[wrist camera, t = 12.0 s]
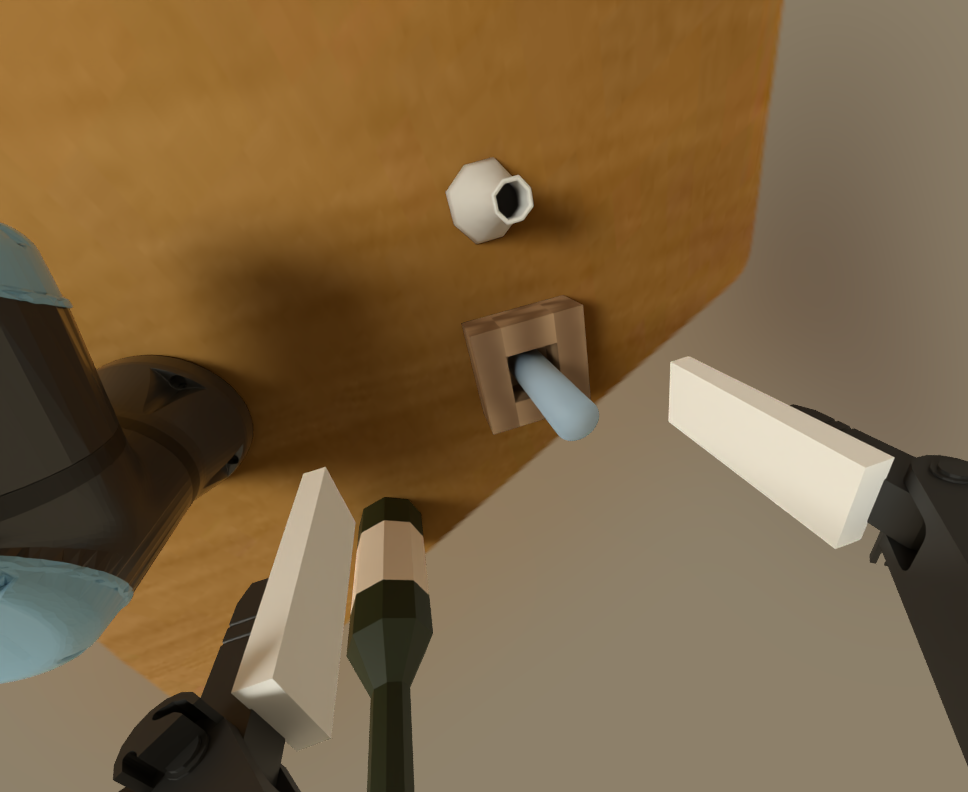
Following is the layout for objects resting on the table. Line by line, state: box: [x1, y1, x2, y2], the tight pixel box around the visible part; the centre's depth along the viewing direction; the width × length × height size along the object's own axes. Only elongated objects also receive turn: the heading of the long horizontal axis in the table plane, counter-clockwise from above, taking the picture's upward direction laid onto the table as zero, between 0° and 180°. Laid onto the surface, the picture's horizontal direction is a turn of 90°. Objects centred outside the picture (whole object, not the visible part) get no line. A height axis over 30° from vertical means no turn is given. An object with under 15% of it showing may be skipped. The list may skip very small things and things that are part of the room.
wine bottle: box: [347, 497, 433, 792], centre depth 38 cm, size 8×8×30 cm
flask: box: [446, 157, 534, 244], centre depth 32 cm, size 7×7×10 cm
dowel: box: [508, 349, 599, 441], centre depth 38 cm, size 4×4×14 cm
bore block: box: [461, 295, 591, 435], centre depth 42 cm, size 12×12×5 cm
